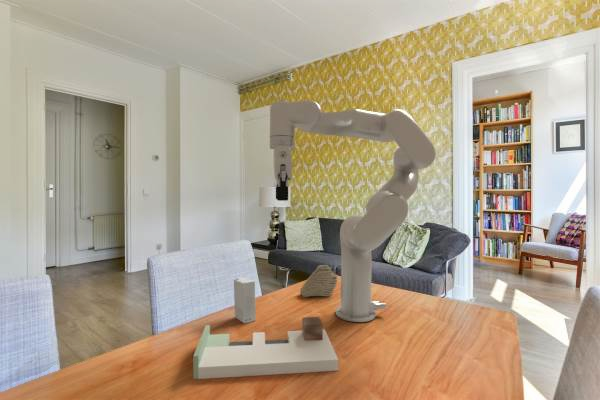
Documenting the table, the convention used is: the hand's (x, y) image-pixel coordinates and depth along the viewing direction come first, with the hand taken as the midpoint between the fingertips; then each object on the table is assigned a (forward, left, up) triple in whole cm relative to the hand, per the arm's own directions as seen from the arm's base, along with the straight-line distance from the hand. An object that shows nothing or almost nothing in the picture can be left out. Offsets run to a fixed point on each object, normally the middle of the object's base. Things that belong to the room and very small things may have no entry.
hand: (281, 199), depth 97 cm
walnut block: (-7, +18, -34) cm, 39 cm away
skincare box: (+11, 0, -37) cm, 39 cm away
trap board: (+4, +22, -37) cm, 43 cm away
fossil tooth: (-16, -20, -37) cm, 45 cm away
